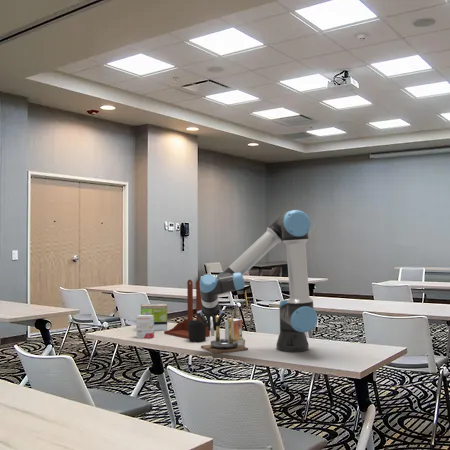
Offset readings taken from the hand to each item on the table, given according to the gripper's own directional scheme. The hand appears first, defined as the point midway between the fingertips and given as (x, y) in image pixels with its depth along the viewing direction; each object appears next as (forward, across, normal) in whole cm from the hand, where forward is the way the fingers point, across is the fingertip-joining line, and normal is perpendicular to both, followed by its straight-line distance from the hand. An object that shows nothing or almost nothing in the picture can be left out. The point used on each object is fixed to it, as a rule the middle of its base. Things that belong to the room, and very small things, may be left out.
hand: (212, 333), depth 258 cm
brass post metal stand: (+3, +6, -5) cm, 8 cm away
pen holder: (+19, -10, +9) cm, 23 cm away
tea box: (+44, -38, +34) cm, 67 cm away
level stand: (+4, +6, -6) cm, 9 cm away
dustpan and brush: (+31, -17, +21) cm, 41 cm away
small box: (+20, +9, +10) cm, 24 cm away
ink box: (+26, -38, +16) cm, 49 cm away
